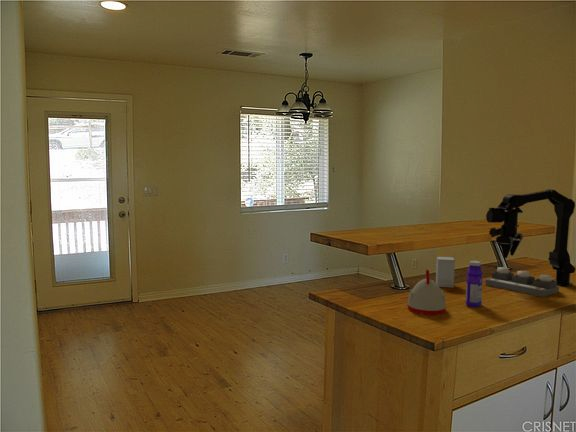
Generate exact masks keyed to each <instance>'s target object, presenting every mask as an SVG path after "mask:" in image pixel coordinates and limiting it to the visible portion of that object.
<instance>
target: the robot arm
mask: <svg viewBox="0 0 576 432" xmlns="http://www.w3.org/2000/svg"><path fill="white" fill-rule="evenodd" d="M543 200H548V201H549V203H551V205H553V208H554V209H553V211H554V213H555V215H556V217H557V218H556V227H555V228H556V229H555V230H556V231H555V241H554V242H555V243H554V249H553V250H552V251H549V252H548V255H549V256H548V261H549V265H551V266H552V270H555V281H557V286H562V287H569V286H572V285H573V284H574V283H573V282H571V274H575V271H576V268H575V266H574V265H573V264H572V263H571V256H570V253H569V251H568V242H569V241H568V240H569V227H570V219H571V217H572V215H573V214H574V212H575V208H576V203H575V202H576V201H574V200H573V199H572V198H568V197H567V196H566V195H563V194H561V193H560V192H558V191H557V190H556V189H549V188H547V189H545V190H541V191H535V192H529V193H524V194H510V193H509V194H508V193H507V194H505V195H504V196H503V198H502V201H501V202H500V203H499V204H498V205H497V207H488V210H487V212H486V215H485V219H486V222H487V223H489V224H490V223H491V224H492V223H494V224H495V223H498V224H500V223H503V224H501V227H500V228H496V227H492V228H490V229H489V233H488V234H489V235H490V237H491V238H495V237H496V238H495V243H496V244H498V245H499V246H500V248H501V251H502V254H503V259H508V257H509V254H510V256H513V257H514V255H515V253H516V251H517V249H518V247H519V246H520V244H521V242H522V240H523V238H524V235H523V234H522V233H521V232H518V228H519V226H520V224H518V223H519V222H518V219H519V213H520V214H522V213H523V212H524V211H523V210H522V209H521V208H520V207H522V206H524V205H525V204H528V203H535V202H539V201H543Z"/></svg>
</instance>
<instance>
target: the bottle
mask: <svg viewBox="0 0 576 432" xmlns="http://www.w3.org/2000/svg"><path fill="white" fill-rule="evenodd" d="M466 274H467V277H466V281H465V282H466V284H465V285H466V289H465V305H466V306H467V307H470V308H479V307H481V305H482V302H483V301H482V296H483V293H482V292H483V281H484V280H483V276H482V275H483V271H482V262H481V261H480V260H479V261H478V260H470V261H469V267H468V269H467V272H466Z"/></svg>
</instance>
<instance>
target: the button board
mask: <svg viewBox="0 0 576 432" xmlns="http://www.w3.org/2000/svg"><path fill="white" fill-rule="evenodd" d="M535 278H536V277H535V276H531V275H530V278H528V279H525V278H520V277H517V274H515V273H513V272H510V271H509V274H507V275H504V274H498V273H497V271H493V272H492V273H491V278H486V279H485V286H488V287H494V288H498V289H504V290H506V291H507V290H508V291H513V292H518V293H523V294H527V295H532V296H535V297H537V296H538V297H542V298H545V297H548V296H551V295H554V294H557V293H559V292H560V285H557V281H556V280H554V279H552V282H550V283H547V282H542V281H539V278H536V279H535Z"/></svg>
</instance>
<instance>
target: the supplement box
mask: <svg viewBox="0 0 576 432" xmlns="http://www.w3.org/2000/svg"><path fill="white" fill-rule="evenodd" d="M435 262H436V263H435V266H436V268H435V283H436V284H437V285H438V286H439V287H440V288H455V267H456V266H455V264H456V259H455V258H454V257H451V256H436V261H435Z"/></svg>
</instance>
